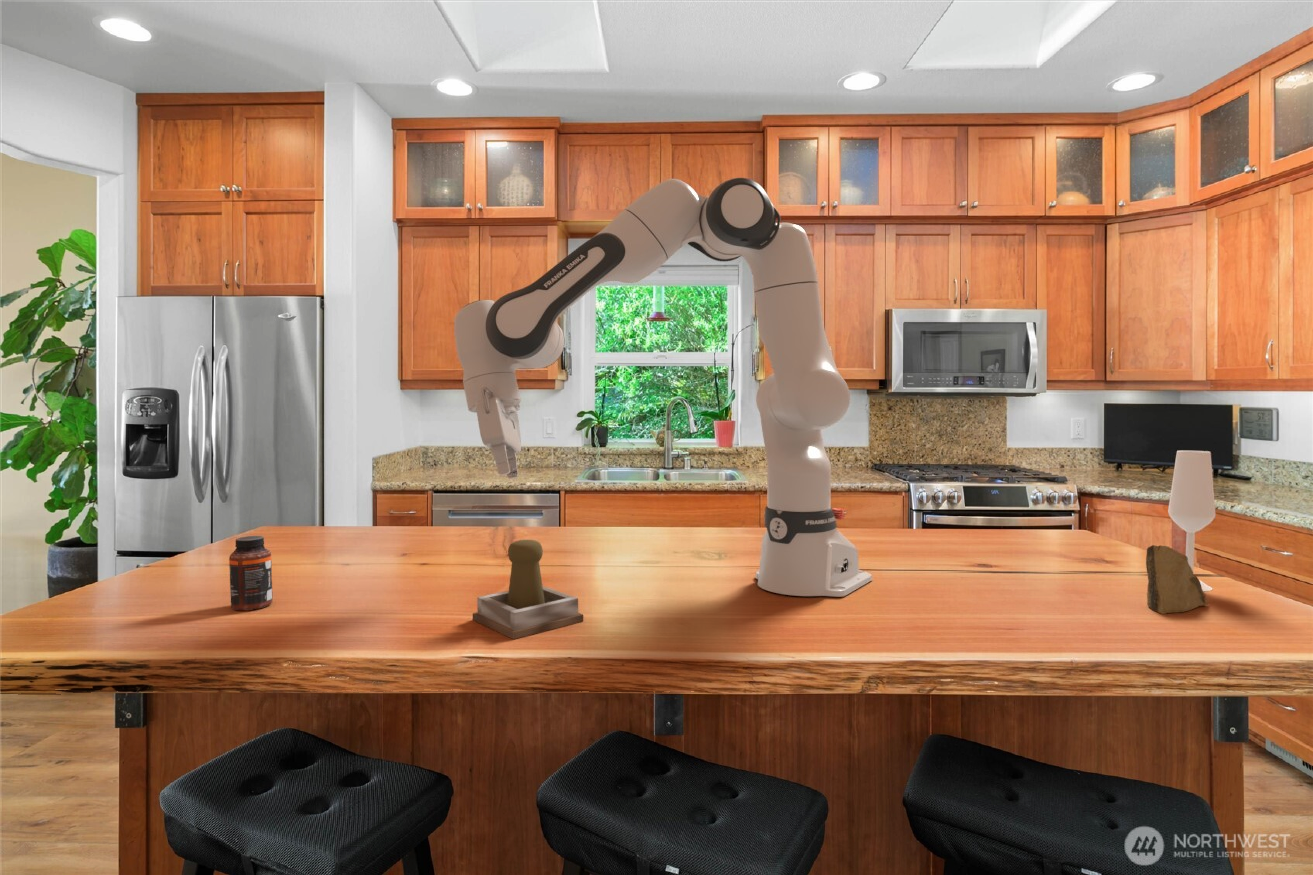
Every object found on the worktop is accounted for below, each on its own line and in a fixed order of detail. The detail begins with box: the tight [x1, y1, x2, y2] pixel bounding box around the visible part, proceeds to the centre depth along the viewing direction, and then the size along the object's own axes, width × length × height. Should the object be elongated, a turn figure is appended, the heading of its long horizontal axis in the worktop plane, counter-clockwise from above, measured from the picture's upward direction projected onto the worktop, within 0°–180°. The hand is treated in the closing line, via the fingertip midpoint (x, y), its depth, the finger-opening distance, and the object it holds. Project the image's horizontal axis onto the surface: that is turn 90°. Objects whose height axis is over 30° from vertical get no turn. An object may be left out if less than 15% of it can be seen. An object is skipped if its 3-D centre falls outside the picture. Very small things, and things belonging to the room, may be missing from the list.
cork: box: [507, 539, 545, 609], centre depth 108 cm, size 6×6×11 cm
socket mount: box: [472, 585, 584, 640], centre depth 107 cm, size 12×12×4 cm
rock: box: [1145, 544, 1209, 615], centre depth 112 cm, size 11×9×10 cm
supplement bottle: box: [228, 535, 273, 611], centre depth 115 cm, size 6×6×11 cm
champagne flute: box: [1167, 450, 1217, 592], centre depth 125 cm, size 7×7×24 cm
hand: (509, 476), depth 118 cm, fingers open, 8 cm apart
